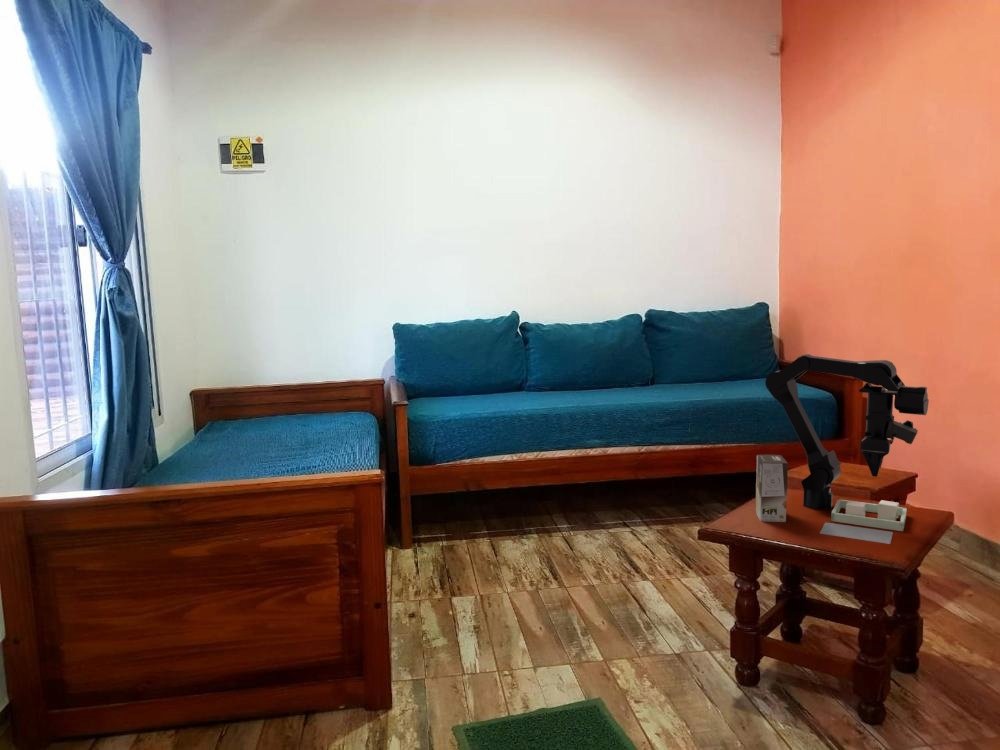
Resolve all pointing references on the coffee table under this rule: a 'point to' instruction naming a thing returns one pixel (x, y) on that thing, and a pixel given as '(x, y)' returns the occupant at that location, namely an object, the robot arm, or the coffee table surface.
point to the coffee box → (771, 488)
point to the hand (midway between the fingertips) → (876, 472)
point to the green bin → (867, 520)
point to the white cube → (855, 508)
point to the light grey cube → (888, 510)
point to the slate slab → (857, 533)
